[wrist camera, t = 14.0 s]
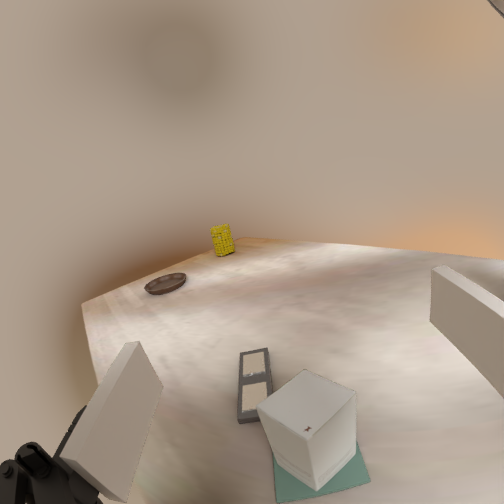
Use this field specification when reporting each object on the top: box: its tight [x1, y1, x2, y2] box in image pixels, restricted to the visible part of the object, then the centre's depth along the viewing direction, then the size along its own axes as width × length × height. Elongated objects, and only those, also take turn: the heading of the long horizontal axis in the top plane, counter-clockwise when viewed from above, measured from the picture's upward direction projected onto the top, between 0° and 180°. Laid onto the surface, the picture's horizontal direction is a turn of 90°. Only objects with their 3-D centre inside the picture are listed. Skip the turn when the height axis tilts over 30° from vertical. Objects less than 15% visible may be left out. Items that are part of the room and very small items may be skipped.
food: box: [210, 224, 235, 257], centre depth 135 cm, size 15×12×10 cm
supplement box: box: [256, 369, 356, 491], centre depth 25 cm, size 7×7×13 cm
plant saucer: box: [144, 273, 186, 295], centre depth 108 cm, size 18×18×3 cm
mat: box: [273, 441, 370, 503], centre depth 27 cm, size 11×11×1 cm
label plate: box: [238, 348, 273, 424], centre depth 45 cm, size 6×18×2 cm, turn 1°
